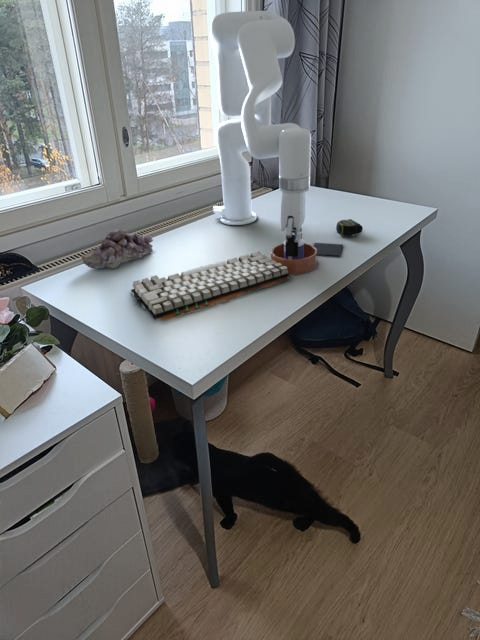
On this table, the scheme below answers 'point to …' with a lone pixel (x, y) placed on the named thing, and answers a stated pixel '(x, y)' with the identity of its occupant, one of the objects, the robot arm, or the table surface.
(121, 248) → the mineral specimen
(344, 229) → the tape measure
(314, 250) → the bowl
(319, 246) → the coaster
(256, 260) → the mechanical keyboard
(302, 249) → the pill bottle
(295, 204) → the robot arm
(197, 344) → the table surface
